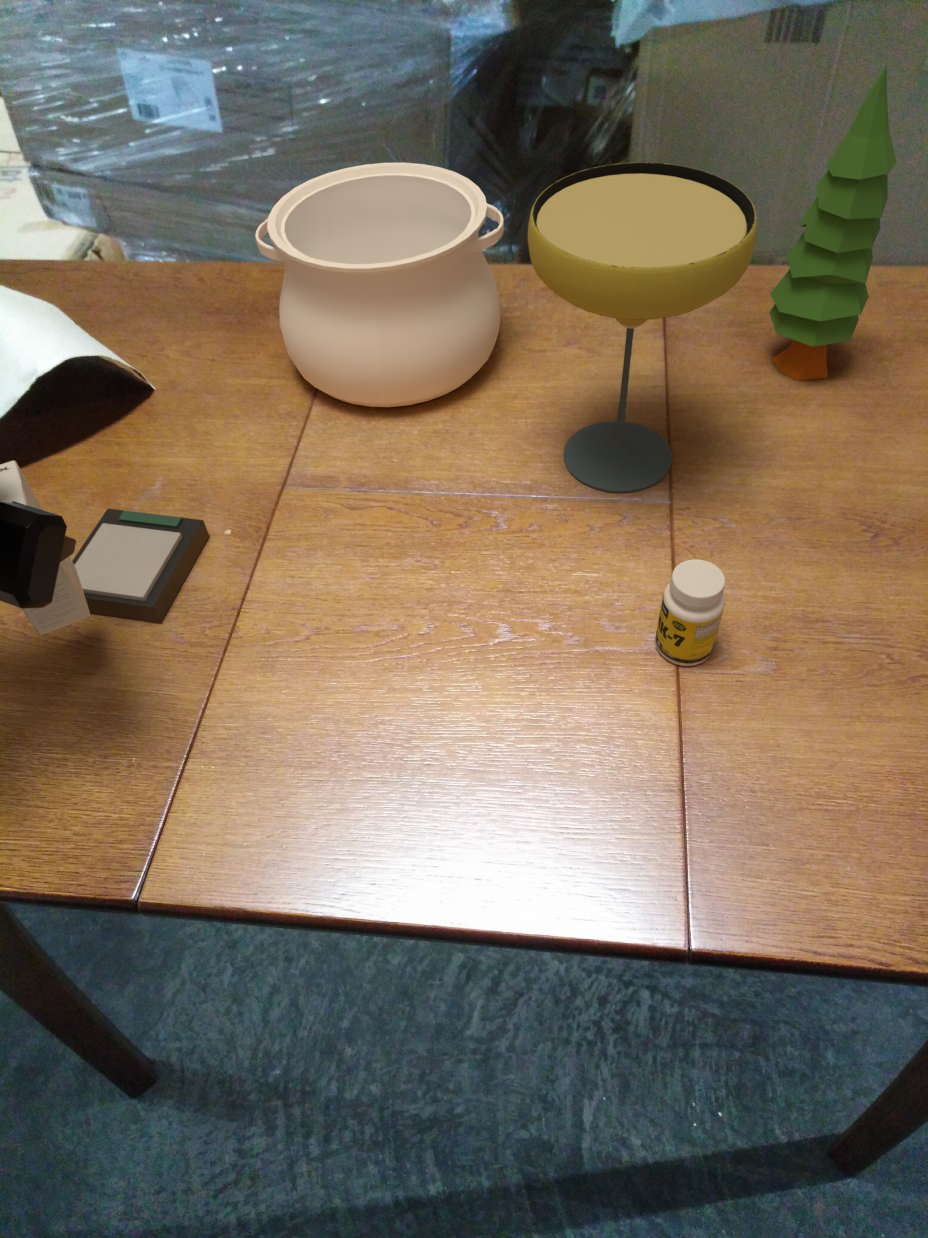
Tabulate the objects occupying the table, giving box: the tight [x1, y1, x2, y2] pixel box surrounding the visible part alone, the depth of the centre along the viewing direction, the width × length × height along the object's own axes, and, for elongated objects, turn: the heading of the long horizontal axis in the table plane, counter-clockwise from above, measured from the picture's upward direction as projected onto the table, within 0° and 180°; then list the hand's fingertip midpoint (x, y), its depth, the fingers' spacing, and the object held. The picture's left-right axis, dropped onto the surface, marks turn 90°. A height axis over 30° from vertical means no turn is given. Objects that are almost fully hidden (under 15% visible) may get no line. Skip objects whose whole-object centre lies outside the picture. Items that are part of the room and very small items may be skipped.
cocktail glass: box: [527, 161, 758, 493], centre depth 80 cm, size 18×18×25 cm
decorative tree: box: [769, 63, 897, 381], centre depth 87 cm, size 10×9×30 cm
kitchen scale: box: [72, 508, 210, 624], centre depth 82 cm, size 10×11×3 cm
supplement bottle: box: [654, 558, 726, 667], centre depth 71 cm, size 5×5×8 cm
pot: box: [254, 162, 505, 408], centre depth 97 cm, size 26×24×17 cm
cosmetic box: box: [0, 460, 91, 636], centre depth 67 cm, size 6×4×12 cm
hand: (36, 533), depth 68 cm, fingers closed on cosmetic box, 7 cm apart
